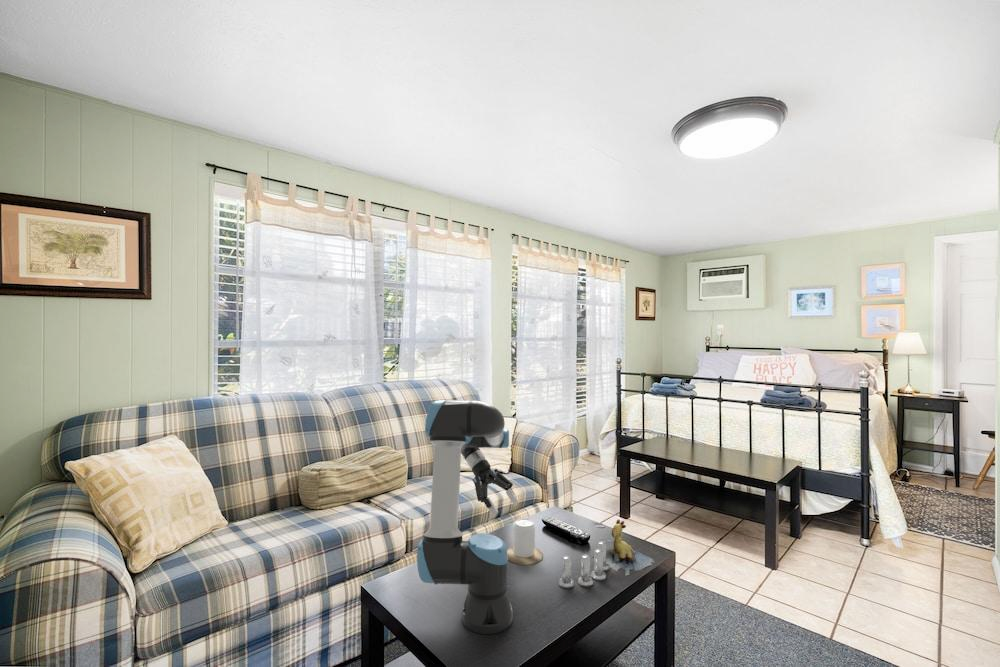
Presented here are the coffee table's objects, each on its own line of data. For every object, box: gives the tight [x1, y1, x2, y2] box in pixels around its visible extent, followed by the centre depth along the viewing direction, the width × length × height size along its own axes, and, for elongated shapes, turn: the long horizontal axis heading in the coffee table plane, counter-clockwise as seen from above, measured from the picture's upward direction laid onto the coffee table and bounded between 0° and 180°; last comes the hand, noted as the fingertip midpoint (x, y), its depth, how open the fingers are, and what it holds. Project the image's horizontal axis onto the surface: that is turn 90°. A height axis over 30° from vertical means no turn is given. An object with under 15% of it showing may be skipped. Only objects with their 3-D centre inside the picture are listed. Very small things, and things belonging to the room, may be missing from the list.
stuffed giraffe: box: [592, 519, 655, 577], centre depth 169 cm, size 16×18×16 cm
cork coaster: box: [507, 546, 543, 566], centre depth 171 cm, size 14×14×1 cm
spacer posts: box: [558, 540, 610, 589], centre depth 157 cm, size 23×12×9 cm, turn 142°
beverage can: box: [513, 518, 536, 558], centre depth 172 cm, size 8×8×12 cm
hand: (506, 508), depth 177 cm, fingers open, 13 cm apart
